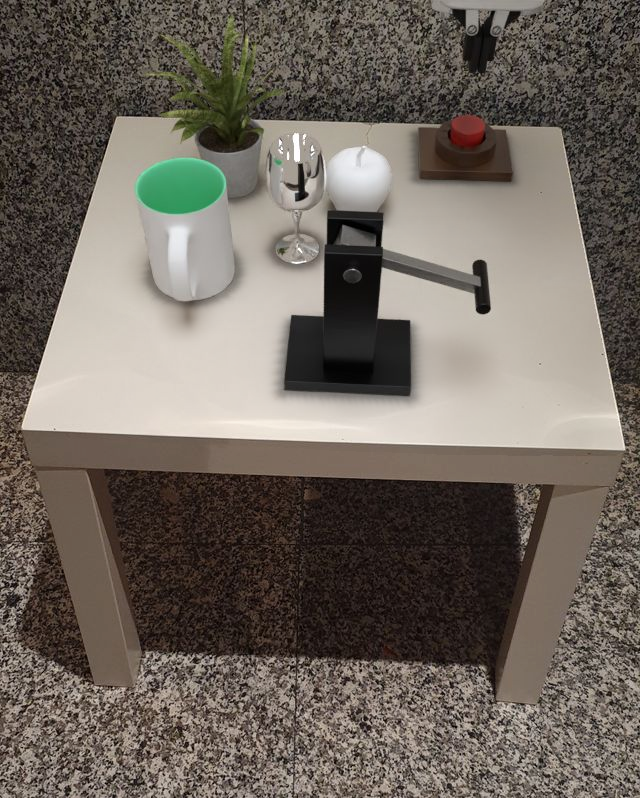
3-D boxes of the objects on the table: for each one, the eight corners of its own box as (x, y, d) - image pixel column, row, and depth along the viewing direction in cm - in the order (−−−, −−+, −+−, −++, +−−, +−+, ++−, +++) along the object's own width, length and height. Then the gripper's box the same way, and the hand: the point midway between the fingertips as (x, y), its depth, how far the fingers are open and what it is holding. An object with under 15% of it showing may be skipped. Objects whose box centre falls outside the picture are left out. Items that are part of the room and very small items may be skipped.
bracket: (409, 328, 78) (425, 201, 66) (409, 396, 73) (427, 271, 61) (291, 323, 78) (287, 195, 67) (284, 390, 73) (278, 264, 62)
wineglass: (335, 241, 85) (338, 140, 76) (309, 275, 82) (307, 175, 73) (286, 223, 87) (283, 122, 78) (258, 257, 84) (251, 155, 74)
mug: (236, 328, 78) (226, 243, 70) (149, 333, 78) (129, 247, 69) (234, 242, 85) (225, 155, 77) (155, 245, 85) (137, 159, 77)
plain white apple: (347, 238, 86) (349, 174, 79) (311, 200, 89) (311, 136, 83) (403, 215, 88) (409, 151, 82) (366, 179, 92) (369, 115, 85)
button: (481, 128, 93) (483, 115, 92) (484, 148, 91) (486, 134, 90) (449, 128, 93) (450, 114, 92) (450, 147, 91) (452, 133, 90)
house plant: (170, 138, 96) (147, -3, 83) (290, 136, 97) (286, -5, 84) (159, 219, 87) (132, 75, 75) (291, 217, 88) (287, 73, 75)
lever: (479, 276, 70) (492, 256, 69) (483, 321, 67) (497, 301, 65) (333, 233, 68) (343, 211, 66) (330, 278, 64) (340, 256, 63)
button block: (504, 138, 96) (508, 115, 94) (511, 181, 92) (516, 158, 89) (417, 135, 97) (419, 113, 94) (419, 179, 92) (422, 156, 89)
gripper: (423, -117, 69) (403, 84, 84) (605, -112, 69) (553, 89, 83) (420, -153, 74) (402, 44, 88) (591, -149, 73) (544, 48, 88)
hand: (476, 65), depth 86 cm, fingers closed
